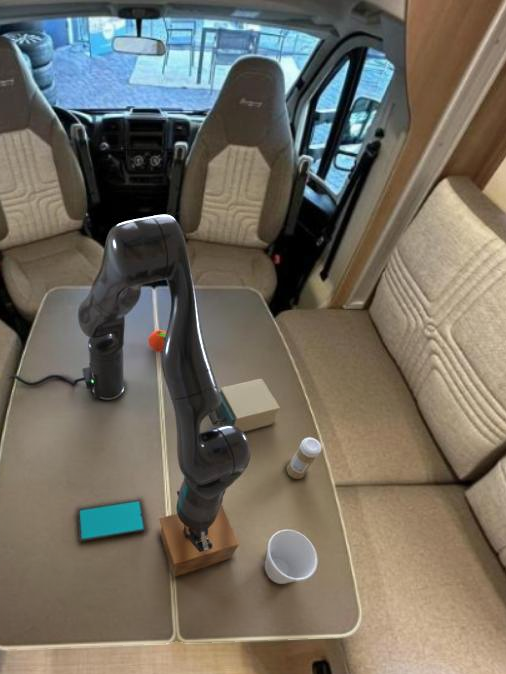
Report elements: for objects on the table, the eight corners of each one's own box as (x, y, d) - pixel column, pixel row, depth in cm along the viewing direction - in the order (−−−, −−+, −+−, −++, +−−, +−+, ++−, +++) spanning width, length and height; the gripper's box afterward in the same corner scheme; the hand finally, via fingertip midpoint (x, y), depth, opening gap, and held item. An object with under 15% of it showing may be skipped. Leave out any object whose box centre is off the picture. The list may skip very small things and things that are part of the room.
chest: (174, 577, 90) (177, 565, 84) (160, 534, 96) (162, 520, 90) (230, 558, 93) (238, 545, 87) (213, 517, 99) (219, 503, 92)
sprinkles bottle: (307, 473, 107) (326, 447, 97) (295, 482, 106) (313, 457, 95) (294, 460, 110) (311, 433, 99) (282, 468, 108) (298, 442, 98)
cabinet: (231, 435, 114) (237, 418, 108) (216, 404, 121) (220, 387, 114) (272, 424, 117) (280, 407, 111) (255, 395, 123) (261, 378, 117)
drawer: (213, 436, 113) (216, 423, 108) (200, 408, 118) (203, 395, 114) (264, 422, 116) (270, 409, 111) (249, 396, 122) (254, 383, 117)
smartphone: (77, 509, 98) (139, 500, 100) (78, 511, 99) (139, 501, 101) (79, 541, 94) (144, 530, 96) (80, 542, 94) (144, 531, 96)
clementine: (176, 347, 135) (178, 331, 130) (165, 360, 131) (166, 345, 126) (155, 337, 138) (156, 322, 132) (144, 350, 134) (144, 334, 128)
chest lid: (174, 565, 83) (174, 563, 82) (159, 519, 88) (159, 517, 88) (238, 545, 86) (239, 544, 86) (219, 503, 92) (220, 501, 92)
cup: (250, 547, 95) (262, 531, 86) (292, 544, 96) (308, 527, 87) (262, 595, 88) (276, 582, 80) (307, 591, 89) (325, 578, 81)
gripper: (167, 472, 76) (161, 509, 89) (193, 543, 68) (183, 572, 81) (204, 462, 78) (194, 499, 91) (234, 530, 70) (218, 560, 83)
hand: (189, 533), depth 86 cm, fingers closed
